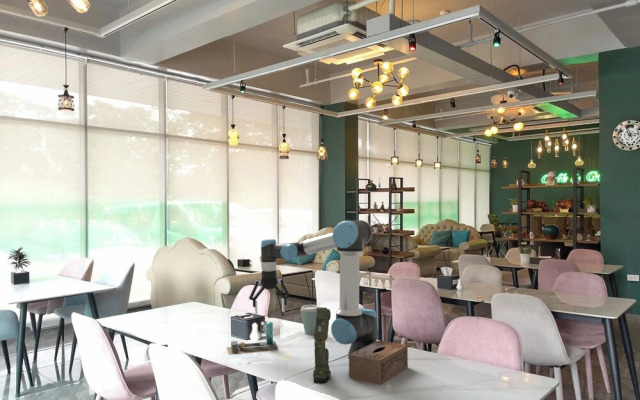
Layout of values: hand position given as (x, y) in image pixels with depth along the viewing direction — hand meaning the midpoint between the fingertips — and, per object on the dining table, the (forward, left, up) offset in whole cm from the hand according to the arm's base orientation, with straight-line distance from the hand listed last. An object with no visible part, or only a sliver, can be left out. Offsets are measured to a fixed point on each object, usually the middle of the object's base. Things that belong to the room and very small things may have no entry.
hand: (269, 312), depth 244 cm
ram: (0, +1, -16) cm, 16 cm away
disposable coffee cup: (+26, -27, -19) cm, 42 cm away
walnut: (0, +14, -17) cm, 22 cm away
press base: (0, +9, -18) cm, 20 cm away
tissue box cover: (-47, -39, -19) cm, 64 cm away
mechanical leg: (-47, -14, -19) cm, 52 cm away
